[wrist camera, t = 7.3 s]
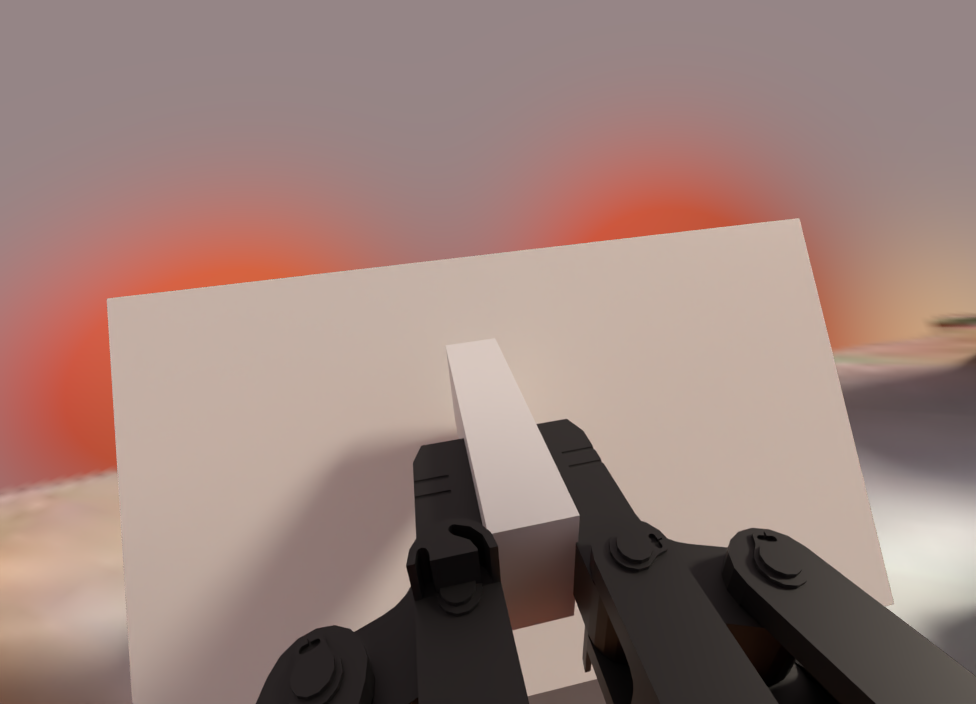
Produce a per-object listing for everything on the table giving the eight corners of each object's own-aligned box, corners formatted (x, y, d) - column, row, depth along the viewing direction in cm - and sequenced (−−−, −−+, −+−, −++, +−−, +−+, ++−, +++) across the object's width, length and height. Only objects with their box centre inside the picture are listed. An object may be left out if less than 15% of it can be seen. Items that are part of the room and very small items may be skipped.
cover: (782, 227, 17) (799, 218, 16) (871, 593, 15) (894, 604, 14) (126, 304, 14) (107, 298, 13) (158, 769, 12) (137, 794, 11)
